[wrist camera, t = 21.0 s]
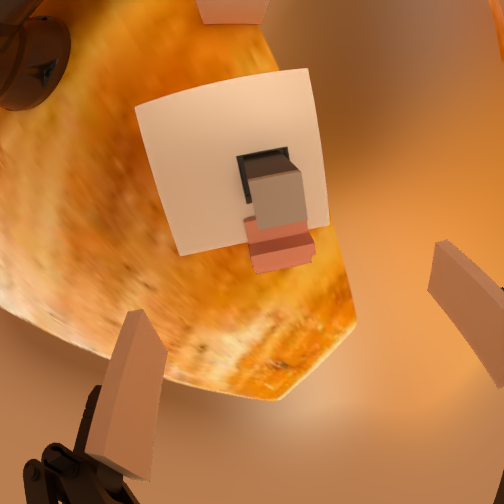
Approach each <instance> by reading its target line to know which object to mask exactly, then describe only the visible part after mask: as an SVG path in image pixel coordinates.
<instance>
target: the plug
mask: <svg viewBox="0 0 504 504" xmlns="http://www.w3.org/2000/svg"><path fill="white" fill-rule="evenodd" d="M243 161H244V165H245V170H246V175H247V179H248V184H249V189H250V193H251V198H252V203H253V207H254V212H255V217H256V221H257V226H258V230H262V229H267V228H272V227H277V226H282V225H287V224H291V223H296V222H301V221H307V220H308V217H307V209H306V201H305V194H304V187H303V180H302V173H301V171H300V170H299V169H298V168H297V167H296V166H295V165H294V164H293V163H292V162H290V161H289V160H288V159H287V158H286V157H285V156H284V155H283V154H282V153H281V152H279V151H278V150H275V151H269V152H264V153H259V154H254V155H249V156H244V157H243Z"/></svg>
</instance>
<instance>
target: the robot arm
mask: <svg viewBox="0 0 504 504" xmlns="http://www.w3.org/2000/svg"><path fill="white" fill-rule="evenodd" d="M42 1H43V0H0V107H2V108H5V109H7V110H10V111H21V110H27V109H31V108H33V107H35V106H37V105H38V104H40V103H41V102H42V101H44V100H45V99H46V98H47V97H48V96H49V95H50V93H51V92H52V91H53V90H54V88H55V87H56V85H57V84H58V82H59V81H60V79H61V77H62V75H63V73H64V70H65V68H66V65H67V62H68V58H69V53H70V34H69V31H68V29H67V27H66V25H65V24H64V23H63V22H62V21H60V20H58V19H56V18H53V17H49V16H38V17H32V18H29V16H30V15H31V14H32V13H33V12H34V11H35V9H36V8H37V7H38V6H39V5H40V4H41V3H42ZM428 292H429V293H430V294H431V295H432V296H433V298H434V299H435V300H436V301H437V303H438V304H439V305H440V306H441V308H442V309H443V310H444V311H445V313H446V314H447V315H448V316H449V318H450V319H451V320H452V322H453V323H454V324H455V326H456V327H457V328H458V330H459V331H460V332H461V334H462V335H463V337H464V338H465V339H466V341H467V342H468V343H469V345H470V346H471V348H472V349H473V350H474V352H475V353H476V355H477V356H478V358H479V359H480V361H481V362H482V364H483V365H484V367H485V368H486V370H487V371H488V373H489V374H490V376H491V378H492V379H493V381H494V383H495V384H496V386H497V387H498V389H500V388H501V387H503V386H504V288H503V287H502V288H500V287H499V286H498V285H497V284H496V283H495V282H494V281H493V280H492V279H491V278H490V277H489V276H488V275H487V274H486V273H485V272H483V271H482V270H481V269H480V268H479V267H478V266H477V265H476V264H475V263H474V262H473V261H472V260H470V259H469V258H468V257H467V256H466V255H465V254H464V253H462V252H461V251H460V250H459V249H458V248H457V247H455V246H454V245H453V244H452V243H451V242H449V241H448V240H444V241H440V242H437V243H435V250H434V257H433V263H432V269H431V275H430V280H429V285H428ZM167 352H168V351H167V350H166V348H165V346H164V345H163V343H162V341H161V340H160V338H159V336H158V335H157V333H156V331H155V330H154V328H153V326H152V325H151V323H150V321H149V319H148V318H147V316H146V314H145V312H144V310H143V309H141V310H135V311H129V312H128V313H127V316H126V318H125V321H124V323H123V326H122V329H121V331H120V334H119V337H118V340H117V342H116V345H115V348H114V351H113V354H112V357H111V360H110V363H109V366H108V369H107V372H106V375H105V378H104V381H103V384H102V385H96V386H95V387H94V389H93V390H92V392H91V393H90V395H89V396H88V400H87V403H86V406H85V407H86V409H85V410H84V413H83V418H82V420H81V424H80V427H79V431H78V435H77V438H76V442H75V446H74V450H73V452H72V451H71V450H69V449H68V448H66V447H65V446H63V445H62V444H60V443H52V444H49V445H48V446H47V447H46V448H45V450H44V452H43V454H42V459H41V462H40V461H38V460H37V459H31V460H29V461H28V462H27V463H26V464H25V466H24V469H23V480H24V488H25V495H26V501H27V504H59V503H58V501H61V502H62V504H140V503H139V502H138V500H137V499H136V498H135V496H134V495H133V493H132V492H131V490H130V489H129V487H128V486H127V484H126V483H125V482H124V481H123V475H124V476H126V477H128V478H130V479H133V480H140V481H149V482H150V474H151V464H152V453H153V445H154V437H155V428H156V421H157V413H158V406H159V399H160V393H161V387H162V381H163V374H164V369H165V363H166V357H167ZM493 504H504V471H503V475H502V478H501V482H500V485H499V488H498V491H497V494H496V498H495V500H494V503H493Z"/></svg>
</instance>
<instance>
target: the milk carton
mask: <svg viewBox="0 0 504 504" xmlns="http://www.w3.org/2000/svg"><path fill="white" fill-rule="evenodd" d="M195 1H196V4H197V7H198V10H199V13H200V16H201V18H202V21H203V24H262V22H263V19H264V16H265V14H266V11H267V9H268V6H269V3H270V1H271V0H195Z"/></svg>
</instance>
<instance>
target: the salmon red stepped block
mask: <svg viewBox="0 0 504 504" xmlns="http://www.w3.org/2000/svg"><path fill="white" fill-rule="evenodd" d="M244 225H245V230H246V234H247V238H248V243H249V249H250V257H251V261H252V265H253V267H254V269H255V273H256V274H260V273H265V272H270V271H274V270H279V269H284V268H289V267H293V266H298V265H303V264H307V263H312V261H311V255H315V254H316V252H315V243H314V241H313V239H312V238H311V236H310V234H309V232H308V225H307V221H301V222H296V223H291V224H287V225H282V226H277V227H272V228H267V229H262V230H258V226H257V221H256V217H252V218H247V219H244Z"/></svg>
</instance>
